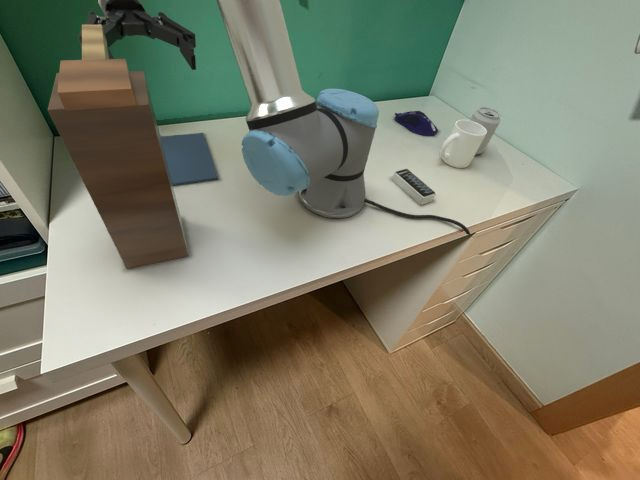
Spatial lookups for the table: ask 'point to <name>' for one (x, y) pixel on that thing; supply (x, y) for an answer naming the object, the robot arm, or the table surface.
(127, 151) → the plinth
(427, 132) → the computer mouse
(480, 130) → the mug
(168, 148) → the mat
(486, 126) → the can
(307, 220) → the table surface
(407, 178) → the multiport hub
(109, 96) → the paddle
